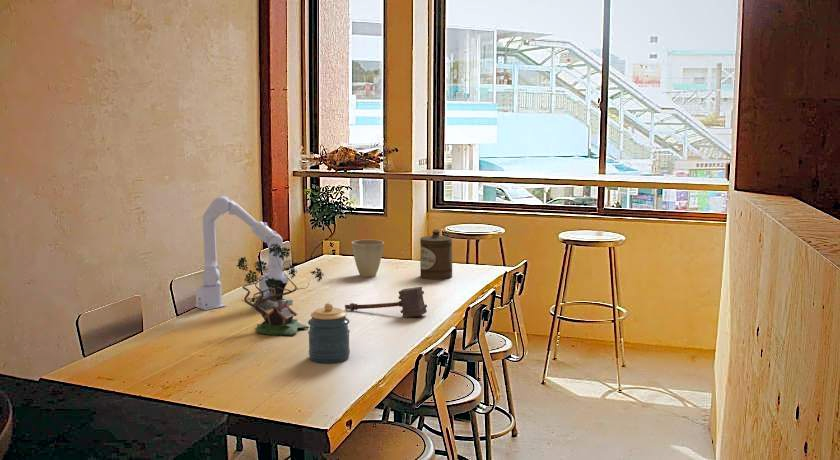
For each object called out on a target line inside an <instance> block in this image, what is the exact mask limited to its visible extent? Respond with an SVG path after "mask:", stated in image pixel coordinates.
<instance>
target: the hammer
mask: <svg viewBox="0 0 840 460" xmlns="http://www.w3.org/2000/svg"><path fill="white" fill-rule="evenodd" d="M398 294H399V296H398V302H396V301H395V302H385V303H373V304H372V303H371V304H369V303H368V304H358V303H353V302H352V303H349V304H345V305H344V309H345V310H350V311H357V310H362V309H368V310H369V309H380V308H381V309H382V308H391V307H393V308H394V307H400V308H402V309H401V310H400V313H401V314H402V318H411V317H421V316H423V315H425V314H426V313H427V312H428V310H427V308H428V305H427V304H425V300H424V294H425V291H424V290H423V286H417V287H409V288H402V289H401V290H398Z"/></svg>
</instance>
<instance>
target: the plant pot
mask: <svg viewBox="0 0 840 460" xmlns="http://www.w3.org/2000/svg"><path fill="white" fill-rule="evenodd" d="M384 245H385V242H384V241H383V240H379V239H359V240H358V239H357V240H353V241H351V248H352V252H353V259H354V262H355V266H356V268H357V272H358V274H359V276H360V277H361V278H374V277H376V276H377V273H378V271H379V268H380V264H381V261H382V256H383V251H384Z"/></svg>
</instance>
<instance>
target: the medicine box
mask: <svg viewBox="0 0 840 460" xmlns="http://www.w3.org/2000/svg"><path fill="white" fill-rule="evenodd" d="M263 278H264V274H263V275H258V281H259V280H261V279H262V280H261V281H259V282H258V288H259V289H260V290H262V291H264V290H266V289H268V286H266V285H267V284H266V283H265V281H266V280H268V278H264V279H263ZM258 291H259V290H258ZM259 292H260V291H259ZM259 292H258V293H259ZM263 294H264V295H263V298H265V297H266V298H267V297H269V296H271V295H270V291H269V290H267V291H265V292H263ZM258 295H259V297H261V295H262V293H260V294H258Z"/></svg>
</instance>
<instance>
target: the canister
mask: <svg viewBox="0 0 840 460" xmlns="http://www.w3.org/2000/svg"><path fill="white" fill-rule="evenodd" d="M347 315H348V313H347V312H346V311H345V310H343V309H341V308H338V307H334V306H333V304H332V303H330V302H327V303H325V304H324V306H323V307H319V308H317V309H315V310H314V311H313V312H311V313H310V317H311V318H310V319H309V320H307V324H308V325H309V330H308V357H309V360H310V361H312V362H315V363H318V364H319V363H322V364H335V363H340V362H343V361H346V360H348V359H349V358H350V354H351V351H350V350H351V349H350V332H351V331H350V329H349V323H350V319H349V318H347Z"/></svg>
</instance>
